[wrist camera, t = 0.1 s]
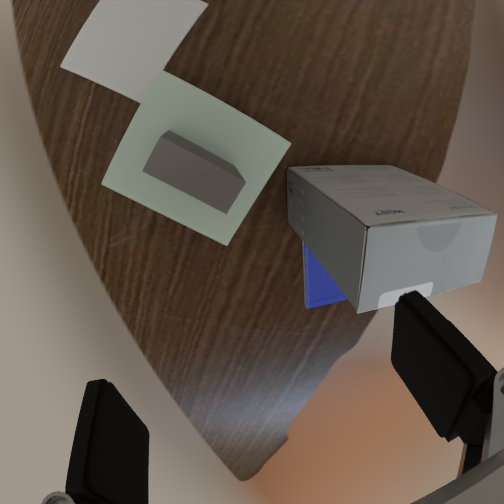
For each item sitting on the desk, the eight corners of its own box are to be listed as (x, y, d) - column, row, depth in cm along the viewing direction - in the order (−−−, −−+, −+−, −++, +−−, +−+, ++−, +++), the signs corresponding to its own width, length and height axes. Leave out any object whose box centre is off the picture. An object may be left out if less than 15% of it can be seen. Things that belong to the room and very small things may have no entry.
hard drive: (304, 232, 41) (306, 309, 47) (360, 223, 42) (356, 297, 48) (300, 227, 43) (303, 303, 48) (355, 219, 44) (352, 292, 49)
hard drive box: (286, 224, 42) (352, 315, 24) (285, 166, 38) (363, 222, 20) (388, 214, 44) (482, 283, 26) (392, 163, 40) (500, 211, 22)
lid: (163, 71, 26) (150, 57, 18) (285, 141, 31) (317, 154, 23) (106, 179, 29) (77, 206, 21) (225, 238, 34) (235, 281, 26)
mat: (124, -29, 24) (123, -31, 23) (208, 5, 28) (208, 4, 28) (61, 67, 28) (59, 66, 27) (143, 104, 32) (142, 104, 32)
